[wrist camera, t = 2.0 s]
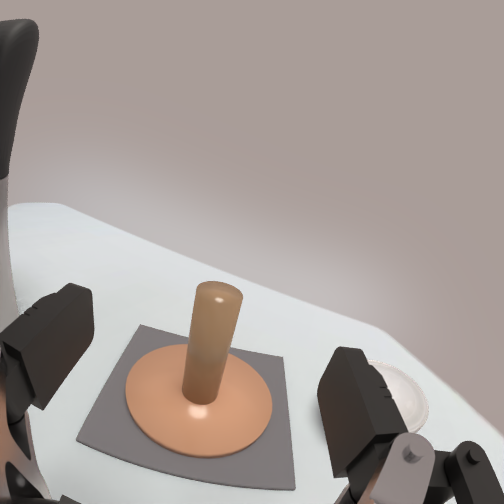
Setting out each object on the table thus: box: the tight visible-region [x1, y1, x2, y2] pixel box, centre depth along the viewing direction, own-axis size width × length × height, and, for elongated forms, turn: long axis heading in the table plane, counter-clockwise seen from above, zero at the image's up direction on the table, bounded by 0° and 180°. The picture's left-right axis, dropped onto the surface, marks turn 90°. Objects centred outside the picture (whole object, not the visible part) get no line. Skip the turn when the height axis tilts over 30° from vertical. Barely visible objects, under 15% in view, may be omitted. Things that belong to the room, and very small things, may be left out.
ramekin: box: [367, 360, 429, 433], centre depth 24 cm, size 11×11×5 cm
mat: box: [76, 324, 296, 490], centre depth 24 cm, size 18×18×1 cm
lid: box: [125, 281, 272, 459], centre depth 22 cm, size 14×14×12 cm
